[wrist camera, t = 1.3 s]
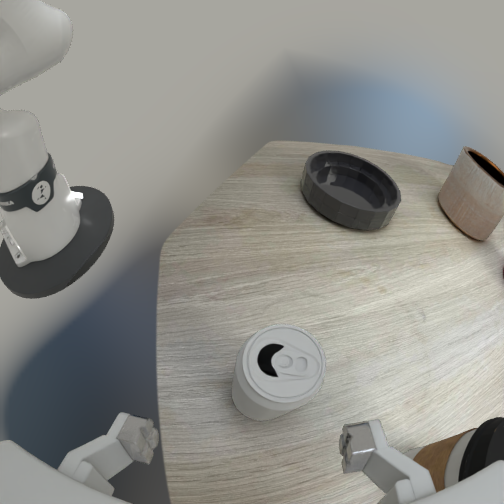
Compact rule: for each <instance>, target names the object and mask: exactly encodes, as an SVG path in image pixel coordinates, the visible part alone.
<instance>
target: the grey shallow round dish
mask: <svg viewBox="0 0 504 504" xmlns="http://www.w3.org/2000/svg"><path fill="white" fill-rule="evenodd" d="M301 187H302V192H303V194H304V196H305V197H306V199H307V201H308V202H309V203H310V204H311V205H312V206H313V207H314V208H315V209H316V210H317V211H318V212H320V213H321V214H323V215H324V216H326V217H328V218H329V219H331V220H332V221H334V222H336V223H339V224H342V225H344V226H347V227H350V228H355V229H361V230H374V229H380V228H382V227H384V226H386V225H388V224H389V222H390V220H391V218H392V216H393V215H394V213H395V211H396V209H397V207H398V205H399V203H400V202H401V194H400V190H399V188H398V186H397V185H396V183H395V182H394V180H393V179H392V178H391V177H390V176H389V175H388V174H387V173H386V172H385V171H383V170H382V169H381V168H379V167H378V166H377V165H375V164H373V163H371V162H369V161H368V160H366V159H364V158H361V157H358V156H356V155H353V154H349V153H345V152H340V151H321V152H316V153H315V154H313V155H311V156H310V157H309V158H308V159H307V161H306V163H305V167H304V171H303V175H302V179H301Z"/></svg>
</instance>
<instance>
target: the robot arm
mask: <svg viewBox="0 0 504 504" xmlns="http://www.w3.org/2000/svg"><path fill="white" fill-rule="evenodd" d="M72 38H73V26H72V22H71V20H70V18H69V16H68V15H67V14H66V13H65V12H64V11H62V10H60V9H57V8H54V7H52V6H49V5H47V4H46V3H44V2H42V1H41V0H0V96H1V95H2V94H4V93H6V92H8V91H9V90H11V89H13V88H15V87H17V86H19V85H21V84H23V83H25V82H27V81H29V80H31V79H33V78H35V77H37V76H39V75H40V74H42V73H44V72H45V71H47V70H48V69H50V68H51V67H53V66H55V65H56V64H58V63H59V62H61V61H62V60H63V59H64V57H65V55H66V54H67V52H68V50H69V48H70V45H71V42H72ZM80 198H83V196H82V193H77V192H71V190H70V188H69V185H68V183H67V181H66V179H65V177H64V175H63V174H59V173H57V172H56V169H55V164H54V161H53V159H52V157H51V155H50V154H49V153H47V149H46V146H45V143H44V139H43V136H42V132H41V129H40V125H39V121H38V119H37V117H36V116H35V115H34V114H33V113H31V112H29V111H25V110H11V111H10V110H9V111H6V110H3V109H1V108H0V207H1V209H0V213H1V215H2V217H3V221H1V222H0V231H1V232H2V235H3V237H4V239H5V242H6V244H7V246H8V248H9V251H10V253H11V255H12V257H13V259H14V261H15V263H16V265H17V266H18V267H23V266H25V265H27V264H29V263H30V262H35V261H41V260H45V259H47V258H50V257H52V256H53V255H55V254H57V253H58V252H60V251H61V250H62V249H63V248H64V247H65V246H66V245H67V244H68V243H69V242H70V241H71V240H72V239H73V237H74V236H75V234H76V232H77V230H78V228H79V225H80V213H79V210H80V208H81V205H82V201H81V199H80ZM153 425H154V423H153V421H152V419H149V418H144V417H140V416H135V415H131V414H128V413H123V412H121V413H119V414H118V416H117V418H116V419H115V421H114V423H113V425H112V426H111V428H110V430H109V431H108V433H107V435H103V436H100V437H98V438H97V439H95V440H93V441H91V442H89V443H87V444H85V445H83V446H81V447H79V448H77V449H75V450H73V451H70V452H68V454H67V455H66V457H65V458H64V460H63V461H62V463H61V465H60V466H59V468H58V470H56V469H54V468H52V467H51V466H49V465H47V464H46V463H44V462H42V461H41V460H39V459H38V458H36V457H35V456H33V455H32V454H30V453H28V452H27V451H26V450H24V449H23V448H21V447H20V446H19V445H17V444H16V443H14V442H12V441H11V440H5V441H1V442H0V504H132V503H129V502H126V501H123V500H121V499H118V498H115V497H113V496H112V494H113V492H114V487H113V486H112V485H111V484H110V483H109V482H108V481H107V480H109V479H110V478H112V477H113V476H114V475H116V474H117V473H118V472H120V471H121V470H122V469H124V468H125V467H127V466H128V465H129V464H131V463H132V462H133V461H137V462H141V463H145V464H150V462H151V460H152V457H153V455H154V454H153V451H152V450H153V449H154V448H156V447H157V445H158V442H159V441H158V440H159V434H158V431H157V429H156V428H154V427H153ZM342 430H343V434H341V435H340V439H339V450H340V454H341V455H342V456H343V459H342V468H343V474H344V473H351V472H358V471H362V472H363V473H364V474H365V475H367V476H368V477H369V478H370V479H371V480H372V481H373V482H374V483H375V484H376V485H377V486H378V487H379V488H380V489H381V490H382V491H383V492H385V493H386V495H385V496H384V497H383V498H382V499H381V500H380V501H379V502H378V504H504V461H503V460H498V461H496V462H494V463H492V464H491V465H489V466H487V467H486V468H484V469H482V470H481V471H479V472H477V473H475V474H474V475H472V476H470V477H468V478H466V479H464V480H462V481H460V482H458V483H456V484H454V485H452V486H450V487H448V488H446V489H443V490H441V491H439V492H437V493H436V490H435V487H434V484H433V481H432V478H431V476H430V473H429V470H427V469H425V468H424V467H422V466H421V465H419V464H418V463H416V462H415V461H413V460H412V459H410V458H409V457H407V456H406V455H404V454H403V453H401V452H400V451H398V450H397V449H395V448H394V447H393V446H392V447H389V445H388V442H387V439H386V436H385V433H384V430H383V427H382V425H381V422H380V420H379V419H375V420H371V421H363V422H358V423H352V424H345V425H344V426H343V429H342Z"/></svg>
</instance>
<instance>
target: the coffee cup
mask: <svg viewBox="0 0 504 504" xmlns="http://www.w3.org/2000/svg"><path fill="white" fill-rule="evenodd" d="M404 455H406V456H407V457H409V458H410V459H412V460H413V461H415V462H416V463H418V464H419V465H421V466H422V467H424V468H425V469H427V470H429V473H430V476H431V478H432V481H433V484H434V487H435V490H436V493H437V492H439V491H441V490H443V489H446V488H448V487H450V486H452V485H454V484H456V483H458V482H460V481H462V480H464V479H466V478H468V477H470V476H472V475H474V474H475V473H477V472H479V471H481V470H482V469H484V468H486V467H487V466H489V465H491V464H492V463H494V462H496V461H498V460H503V461H504V418H502V417H496V418H494V419H490V420H487V421H485V422H484V423H483V424H481V425H480V426H479V427H478V428H473V429H470V430H468V431H465V432H463V433H460V434H458V435H455V436H453V437H450V438H447V439H444V440H441V441H438V442H435V443H432V444H429V445H427V446H423V447H419V448H415V449H411V450H409V451H407V452H405V453H404Z"/></svg>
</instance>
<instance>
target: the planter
mask: <svg viewBox="0 0 504 504" xmlns="http://www.w3.org/2000/svg"><path fill="white" fill-rule="evenodd" d="M438 199H439V203H440V205H441V207H442V209H443V211H444V213H445V214H446V215H447V217H448V218H449V219H450V220H451V222H452V223H453V224H454V225H455V226H456V227H457V228H458V229H460V230H461V231H462V232H463V233H465V234H466V235H468V236H469V237H471V238H474V239H476V240H486V239H487V238H488V237H489V236H490V234H491V233H492V232H493V230H494V229H495V228H496V226H497V225H498V223H499V222H500V220H501V219H502V217H503V216H504V173H503V172H502V171H501V170H500V169H499V168H498V167H497V166H496V165H495V164H494V163H493V162H491V161H490V160H489V159H488V158H486V157H485V156H484V155H482V154H481V153H479V152H478V151H476V150H474V149H472V148H470V147H466V146H465V147H463V149H462V151H461V153H460V155H459V157H458V159H457V161H456V163H455V165H454V167H453V169H452V170H451V172H450V174H449V176H448V178H447V179H446V181H445V183H444V185H443V186H442V188H441V190H440V192H439V195H438Z"/></svg>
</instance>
